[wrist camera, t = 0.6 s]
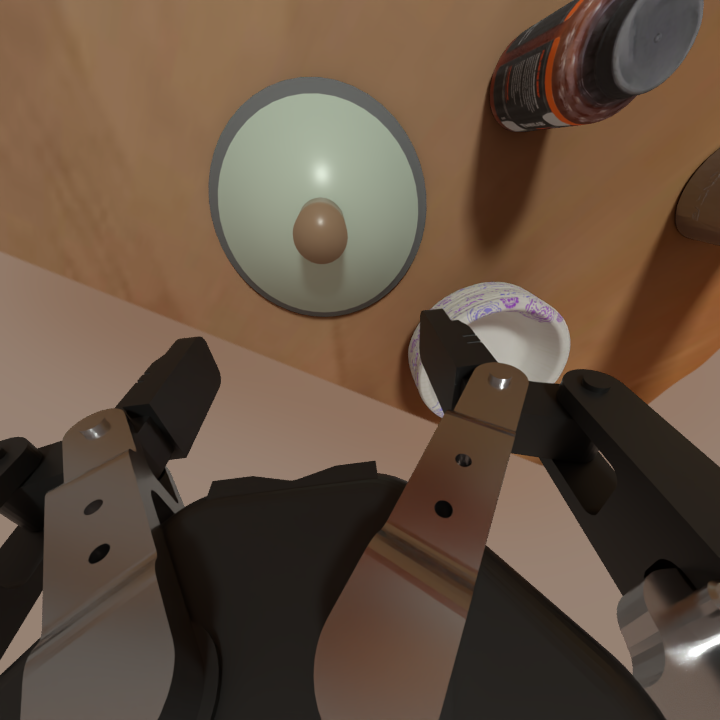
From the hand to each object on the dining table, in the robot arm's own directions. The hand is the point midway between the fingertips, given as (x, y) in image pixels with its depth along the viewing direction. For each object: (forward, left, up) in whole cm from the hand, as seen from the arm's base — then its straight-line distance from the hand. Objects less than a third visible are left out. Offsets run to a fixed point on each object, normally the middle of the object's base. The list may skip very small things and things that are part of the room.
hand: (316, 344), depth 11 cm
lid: (0, -1, -20) cm, 20 cm away
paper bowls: (-15, +13, -20) cm, 29 cm away
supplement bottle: (-17, -9, -20) cm, 28 cm away
